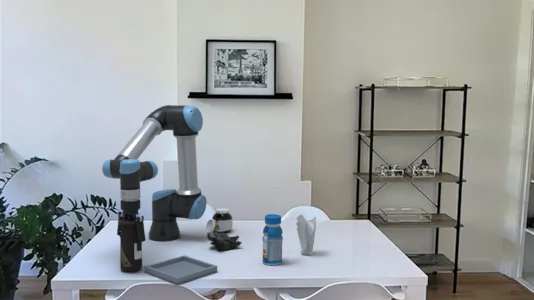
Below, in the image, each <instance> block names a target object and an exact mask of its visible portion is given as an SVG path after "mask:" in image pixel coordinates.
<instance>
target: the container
mask: <svg viewBox="0 0 534 300" xmlns="http://www.w3.org/2000/svg"><path fill="white" fill-rule="evenodd" d="M119 224H120V236H119V238H120V247H119V248H120V250H119V251H120V255H119V257H120V259H119V260H120V262H119V263H120V266H119V268H120V270H122V271H125V272H135V271H139V270H141V269H143V257H142V258H140V259H136V260H135V255H134V242H136V241H135V237H134V228H137V225H136V221H130V220H128V219H121V220H120V221H119ZM141 254H142V255H143V249H142V250H141Z"/></svg>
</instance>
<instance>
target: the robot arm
mask: <svg viewBox="0 0 534 300" xmlns="http://www.w3.org/2000/svg"><path fill="white" fill-rule="evenodd" d="M203 125H204V120H203V115H202V112H201V110H200V109H199V107H197V106H195V105H184V104H183V105H182V104H181V105H172V104H171V105H170V104H168V105H162V106H160V107H158V108H156V109H155V110H153V111H151V113H149V114H148V115H147V116H146V117H145V118H144V120H143V121H142V125H141V127H140V128H139V129H138V130H137V132H136V133H135V134H134V135H133V136H132V137H131V139H130V140H129V141H128V142H127V143H126V144H125V146H124V147H123V148H122V149H121V150H120V152H119V153H117V155H116V156H115V157H114V159H107V160H104V162H103V164H102V169H101V170H102V173H103V176H104V177H106V178H108V179H109V178H110V179H117V180H118V179H119V183H120V185H119V186H120V187H119V189H120V190H119V191H120V199H121V200H120V202H119V203H120V211H118V212H117V215H118V216H117V217H118V219H117V220H118V221H117V228H116V229H117V231H116V235H117V236H119V237H120V224H119V221H120V220H121V219H128V220H130V221H136V225H137V228H134V237H135V241H136V242H134V255H135V260H136V259H140V258H142V259H143V253H142V254H141V250H142V251H143V243H144V242H145V241H146V232H145V225H144V224H145V223H144V219H145V218H144V215H140V214H139V210H140V209H141V183H142V182H144V181H145V182H146V181H150V180H152V179H155V177H157V175H158V173H159V168H158V165H157V164H156V162H154V161H152V160H145V161H140V160H139V158H140V157H141V155H142V154H143V153H144V151H146V149H147V147H148V146H149V145H150V144H151V142H153V140H154V139H155V138H156V137H157V136H160V135H161V134H162V133H163V132H164V131H172V135H173V137H174V138H176V149H177V166H178V167H177V168H178V169H177V170H178V183H179V185H178V186H179V188H178V189H175V188H174V189H173V188H172V189H171V188H169V189H162V190H158V191H154V192H153V193H152V195H151V197H152V198H151V212H152V213H151V214H152V215H151V217H152V218H151V220H152V221H151V225H150V227H149V232H148V240H152V241H156V242H158V241H159V242H167V241H173V240H177V239H180V237H181V230H180V228H179V224H178V221H177V219H186V220H187V219H188V220H200V219H201V218H202V217H203V216H204V214H205V212H206V209H207V202H208V201H207V197H206V196H205V195H204V194H202V189H201V188H200V187H198V185H199V184H198V183H199V182H198V164H197V144H196V143H197V142H196V139H197V136H199V132H200V131H201V130H202V129H203Z"/></svg>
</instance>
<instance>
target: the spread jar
mask: <svg viewBox="0 0 534 300" xmlns="http://www.w3.org/2000/svg"><path fill="white" fill-rule="evenodd" d="M233 222H234V221H233V216H232V214H230V209H229V208H227V207H223V208H222V207H219V208H216V209H215V213H214V214H213V216H212V219H209V220H208V221H206V226H205V231H206V233H207V234H210V233H211V234H213V232H215V233H218V234H219V233H225V234H228V233H230V232H231V231H232V229H233Z"/></svg>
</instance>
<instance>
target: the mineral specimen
mask: <svg viewBox="0 0 534 300" xmlns="http://www.w3.org/2000/svg"><path fill="white" fill-rule="evenodd" d="M239 238H240V236H239V235H235V236H229V234H228V233H216V232H215V233H207V234H206V240H207V241H210V242H209V245H211V246H214V247H215V248H216V250H217V251H218V250H219V251H222V250H234V249H235V248H237V247H238V246H240V245H241V244H242V243H243V242H242V241H240V240H238V239H239Z"/></svg>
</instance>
